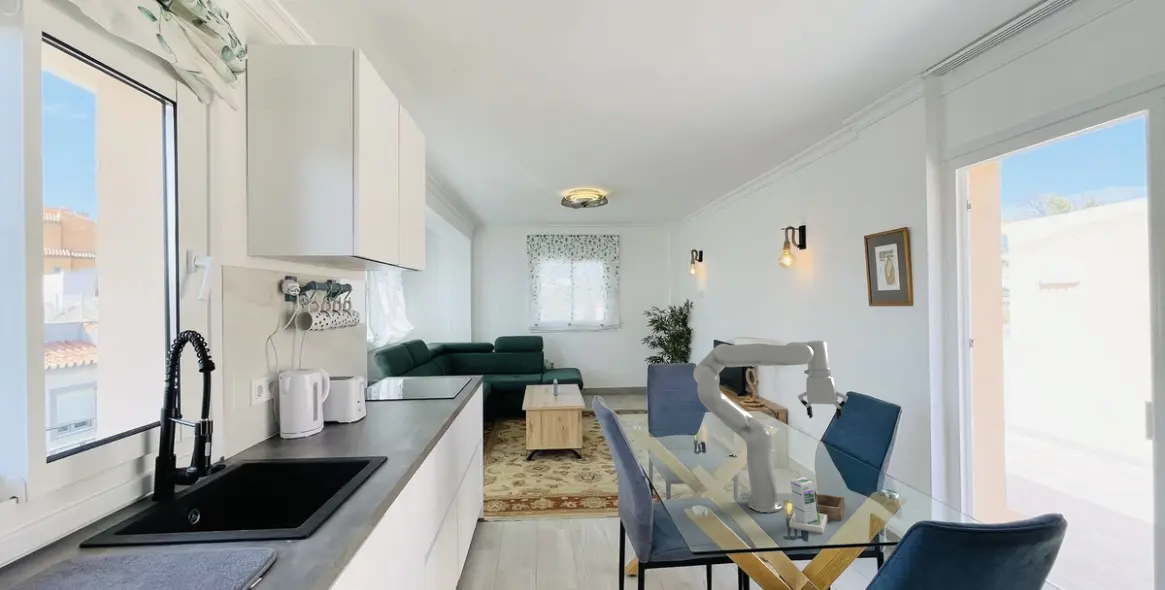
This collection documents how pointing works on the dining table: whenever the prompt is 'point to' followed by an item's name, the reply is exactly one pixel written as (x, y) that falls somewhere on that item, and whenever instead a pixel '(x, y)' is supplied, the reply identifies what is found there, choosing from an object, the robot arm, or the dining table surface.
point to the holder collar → (831, 506)
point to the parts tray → (812, 528)
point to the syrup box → (805, 501)
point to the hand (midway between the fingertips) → (824, 417)
